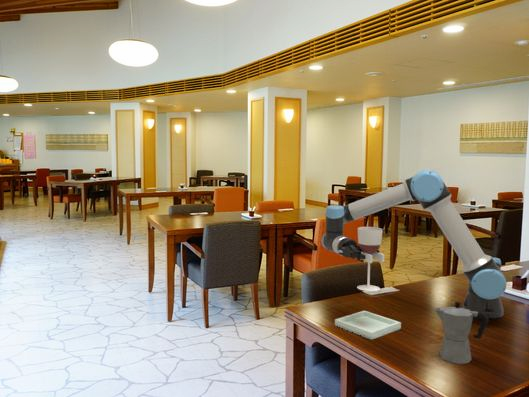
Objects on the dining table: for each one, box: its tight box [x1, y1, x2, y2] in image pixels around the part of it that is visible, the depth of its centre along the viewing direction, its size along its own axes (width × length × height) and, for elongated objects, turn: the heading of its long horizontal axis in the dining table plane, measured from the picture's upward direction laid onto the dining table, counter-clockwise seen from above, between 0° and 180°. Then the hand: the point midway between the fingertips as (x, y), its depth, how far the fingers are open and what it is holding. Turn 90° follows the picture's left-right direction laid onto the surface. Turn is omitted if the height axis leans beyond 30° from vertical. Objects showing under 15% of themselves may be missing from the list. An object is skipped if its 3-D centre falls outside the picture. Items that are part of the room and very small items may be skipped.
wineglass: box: [356, 226, 383, 292], centre depth 168 cm, size 9×10×22 cm
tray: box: [334, 310, 402, 340], centre depth 170 cm, size 17×17×2 cm
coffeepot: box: [434, 301, 490, 365], centre depth 143 cm, size 15×9×18 cm, turn 66°
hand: (377, 258), depth 163 cm, fingers closed on wineglass, 4 cm apart
